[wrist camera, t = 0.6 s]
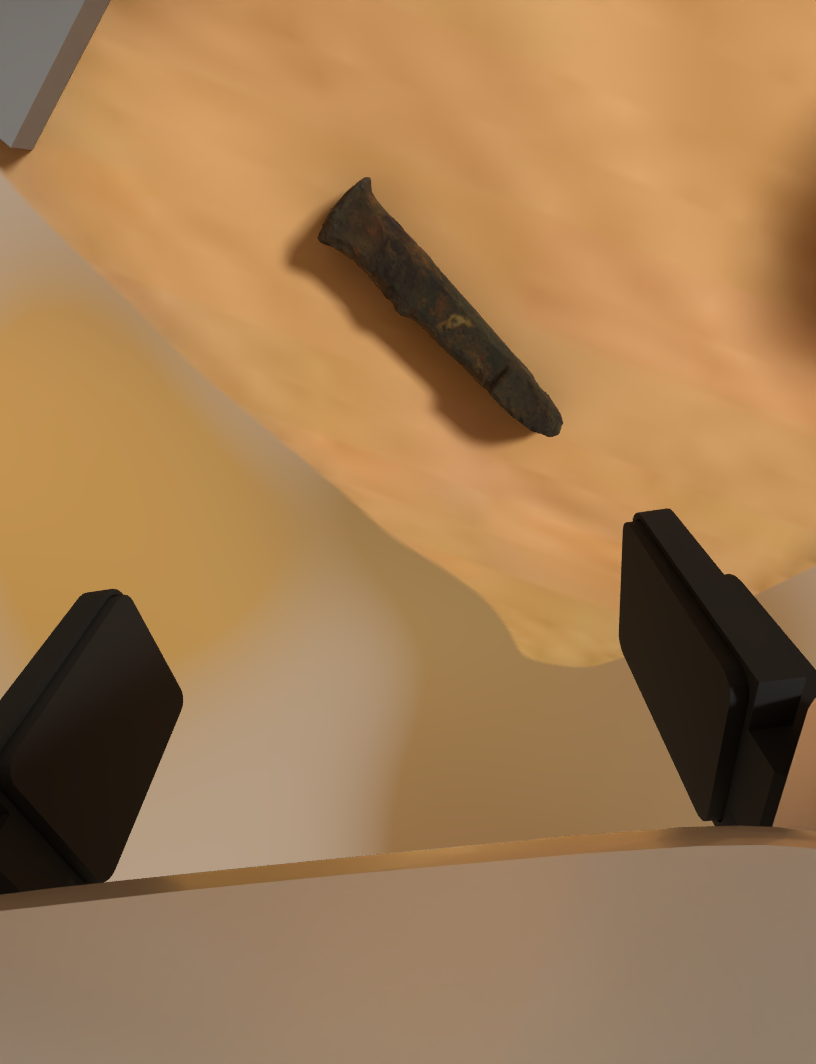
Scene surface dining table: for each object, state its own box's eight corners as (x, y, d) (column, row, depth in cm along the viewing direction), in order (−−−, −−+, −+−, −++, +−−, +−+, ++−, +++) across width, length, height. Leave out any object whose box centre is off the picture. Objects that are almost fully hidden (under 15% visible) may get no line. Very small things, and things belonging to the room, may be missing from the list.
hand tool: (318, 228, 33) (306, 235, 29) (365, 172, 32) (360, 170, 28) (518, 446, 40) (531, 474, 36) (565, 408, 39) (583, 433, 35)
